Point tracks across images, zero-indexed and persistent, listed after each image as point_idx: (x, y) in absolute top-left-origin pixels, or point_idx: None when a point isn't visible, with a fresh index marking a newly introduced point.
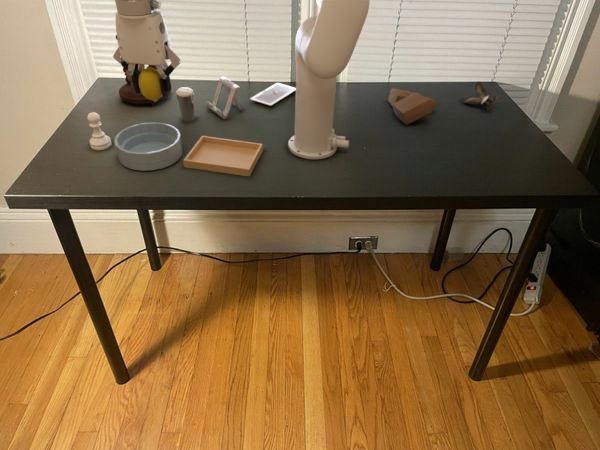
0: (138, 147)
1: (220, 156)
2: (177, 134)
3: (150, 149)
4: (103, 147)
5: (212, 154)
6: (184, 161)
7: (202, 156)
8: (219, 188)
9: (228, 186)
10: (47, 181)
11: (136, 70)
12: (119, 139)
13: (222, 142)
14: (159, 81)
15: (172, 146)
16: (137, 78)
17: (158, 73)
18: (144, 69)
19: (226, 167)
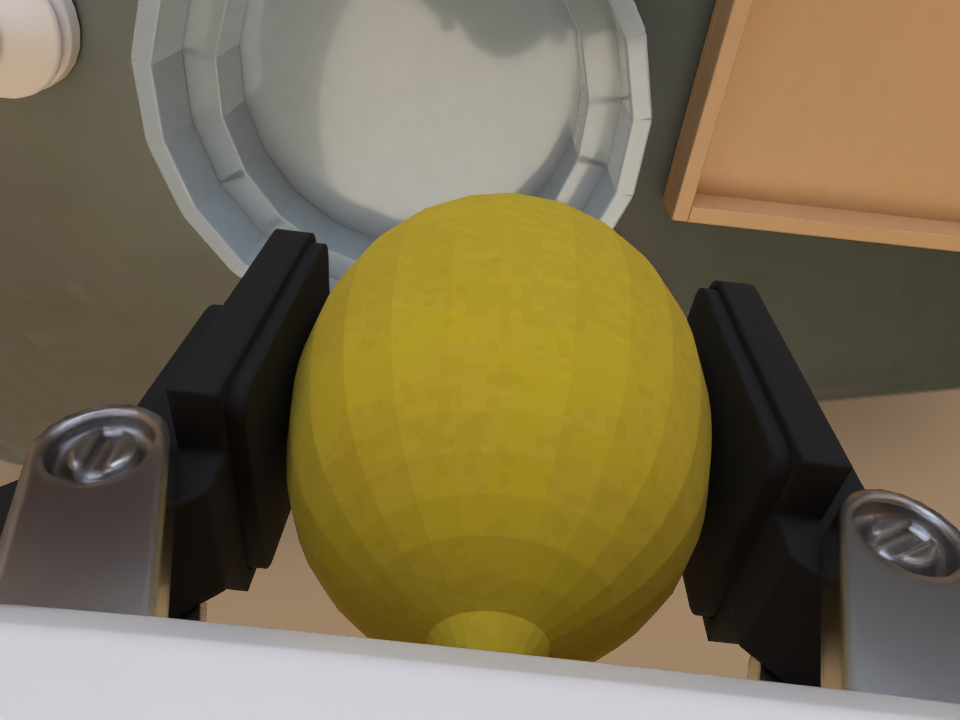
0: (284, 16)
1: (915, 59)
2: (611, 10)
3: (382, 30)
4: (61, 75)
5: (856, 38)
6: (677, 218)
7: (779, 77)
8: (867, 354)
9: (917, 335)
10: (45, 391)
11: (199, 556)
12: (177, 130)
13: None
14: (687, 591)
15: (614, 221)
16: (275, 505)
17: (675, 573)
18: (392, 634)
19: (950, 248)
